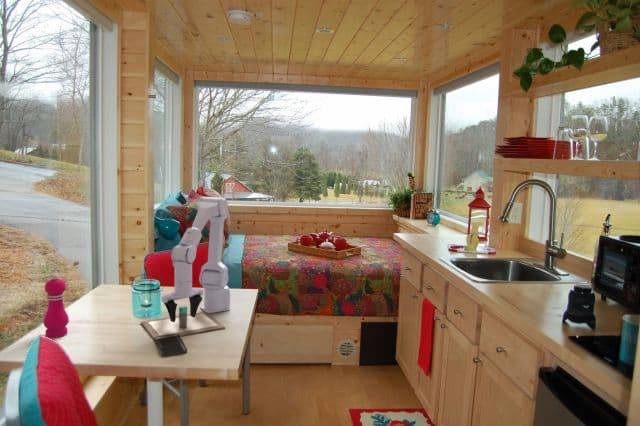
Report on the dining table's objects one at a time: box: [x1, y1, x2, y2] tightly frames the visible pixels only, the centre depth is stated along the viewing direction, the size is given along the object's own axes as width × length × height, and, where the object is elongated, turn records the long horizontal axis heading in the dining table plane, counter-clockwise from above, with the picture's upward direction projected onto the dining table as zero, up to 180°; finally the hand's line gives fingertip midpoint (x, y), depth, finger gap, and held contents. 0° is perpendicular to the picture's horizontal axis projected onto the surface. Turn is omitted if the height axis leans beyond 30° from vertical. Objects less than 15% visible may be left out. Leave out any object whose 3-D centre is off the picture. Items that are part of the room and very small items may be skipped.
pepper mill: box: [43, 274, 70, 339], centre depth 157 cm, size 7×7×20 cm
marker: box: [178, 305, 188, 328], centre depth 167 cm, size 3×3×7 cm
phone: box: [154, 334, 188, 358], centre depth 153 cm, size 8×1×15 cm
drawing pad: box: [140, 311, 226, 341], centre depth 171 cm, size 24×18×1 cm
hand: (183, 318), depth 167 cm, fingers open, 7 cm apart
